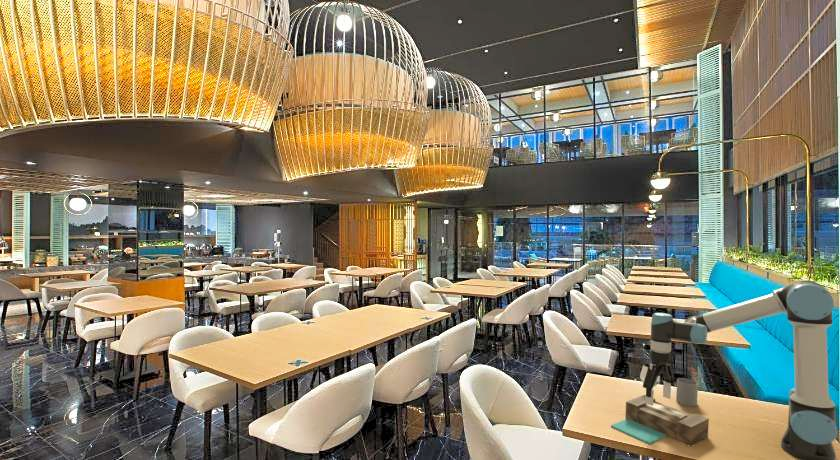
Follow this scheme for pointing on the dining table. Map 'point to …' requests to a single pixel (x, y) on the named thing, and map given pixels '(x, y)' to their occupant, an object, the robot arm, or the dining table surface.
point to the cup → (687, 392)
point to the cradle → (668, 422)
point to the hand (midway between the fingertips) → (658, 401)
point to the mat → (638, 431)
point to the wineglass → (643, 374)
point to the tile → (666, 411)
